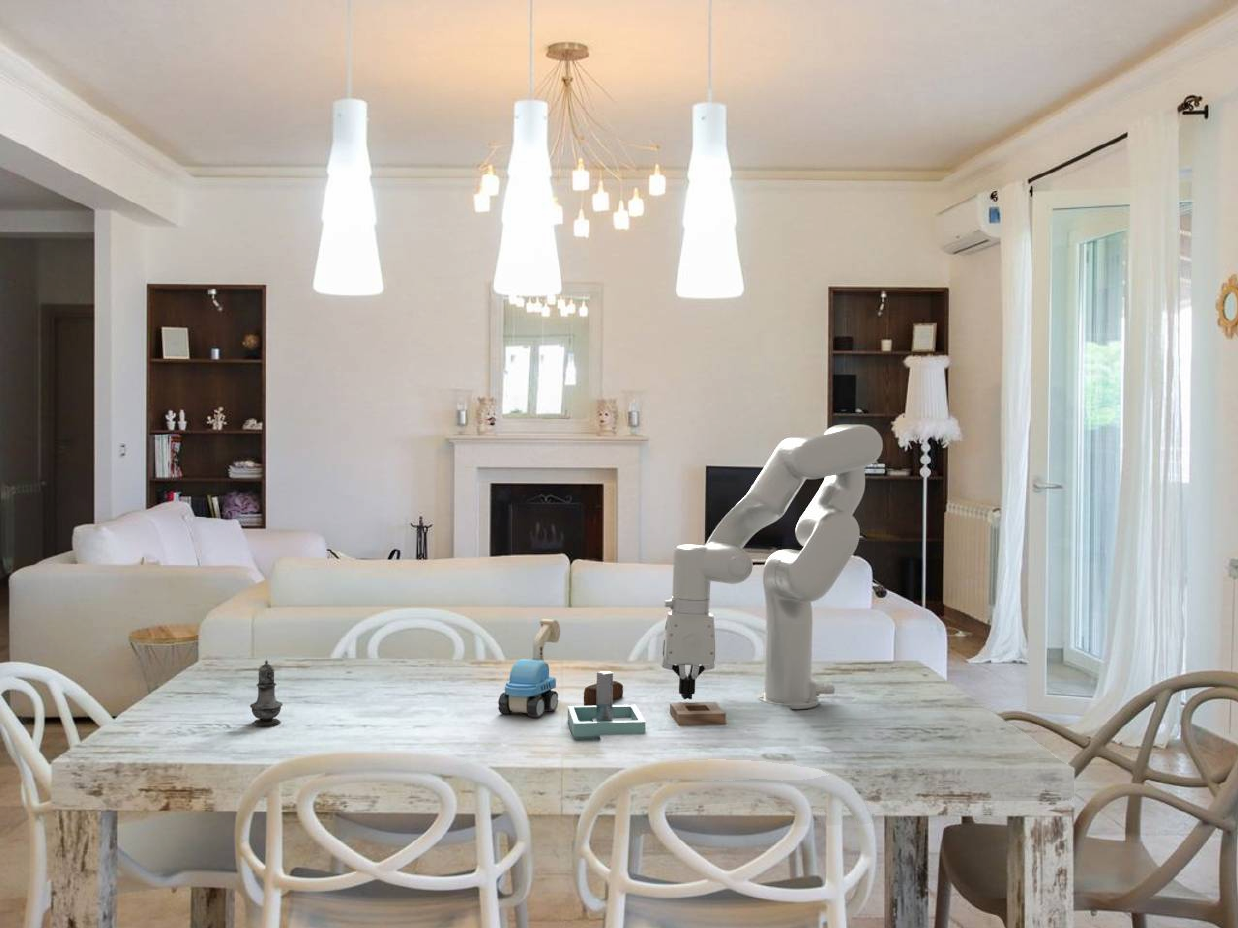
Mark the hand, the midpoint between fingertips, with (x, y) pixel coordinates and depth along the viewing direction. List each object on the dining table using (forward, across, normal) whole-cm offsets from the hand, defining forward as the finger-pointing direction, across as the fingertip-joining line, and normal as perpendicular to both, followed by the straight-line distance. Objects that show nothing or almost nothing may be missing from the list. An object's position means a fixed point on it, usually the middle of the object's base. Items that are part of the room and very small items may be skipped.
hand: (686, 697), depth 233 cm
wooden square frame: (+2, 0, -12) cm, 12 cm away
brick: (+3, -16, +4) cm, 17 cm away
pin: (+2, -18, -15) cm, 24 cm away
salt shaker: (+5, -81, -5) cm, 81 cm away
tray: (+3, -18, -15) cm, 24 cm away
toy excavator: (+4, -30, +2) cm, 30 cm away
